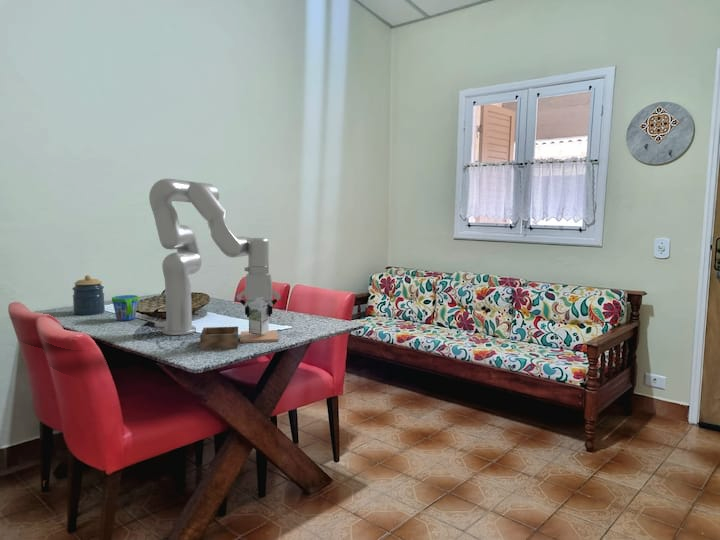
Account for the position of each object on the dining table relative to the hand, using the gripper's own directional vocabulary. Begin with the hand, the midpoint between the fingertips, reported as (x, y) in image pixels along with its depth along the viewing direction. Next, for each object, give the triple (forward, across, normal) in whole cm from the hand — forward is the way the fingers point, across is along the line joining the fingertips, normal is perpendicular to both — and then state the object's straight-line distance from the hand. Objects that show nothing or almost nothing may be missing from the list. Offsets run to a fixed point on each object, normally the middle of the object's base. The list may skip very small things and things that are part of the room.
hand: (258, 316), depth 193 cm
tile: (+8, 0, 0) cm, 8 cm away
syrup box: (+7, 0, 0) cm, 7 cm away
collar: (+8, -14, -8) cm, 18 cm away
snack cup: (+9, -57, +41) cm, 71 cm away
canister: (+9, -77, +59) cm, 97 cm away
